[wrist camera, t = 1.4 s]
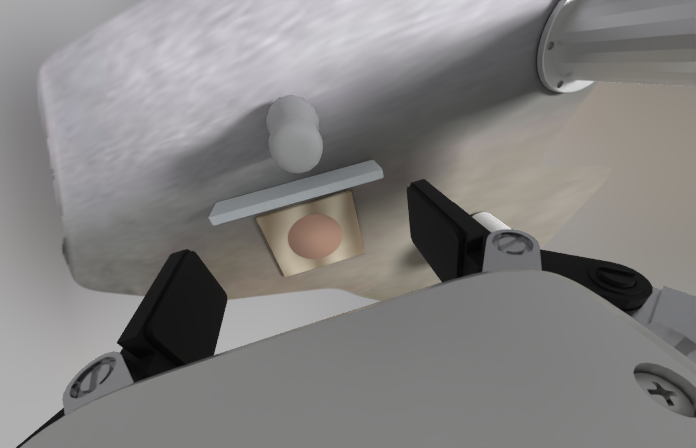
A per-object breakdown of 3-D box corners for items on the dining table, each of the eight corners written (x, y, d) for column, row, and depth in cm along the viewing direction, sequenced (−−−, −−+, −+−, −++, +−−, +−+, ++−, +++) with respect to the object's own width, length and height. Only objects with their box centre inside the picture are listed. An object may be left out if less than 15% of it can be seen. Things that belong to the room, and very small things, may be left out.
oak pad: (350, 189, 36) (351, 191, 36) (363, 251, 43) (365, 253, 42) (256, 216, 35) (255, 219, 35) (285, 274, 42) (285, 277, 42)
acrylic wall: (373, 159, 35) (382, 169, 31) (374, 167, 35) (383, 177, 32) (216, 202, 33) (208, 217, 30) (220, 210, 34) (213, 225, 31)
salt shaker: (306, 152, 32) (316, 195, 21) (261, 133, 30) (247, 170, 19) (324, 107, 30) (346, 131, 19) (277, 83, 28) (271, 94, 17)
